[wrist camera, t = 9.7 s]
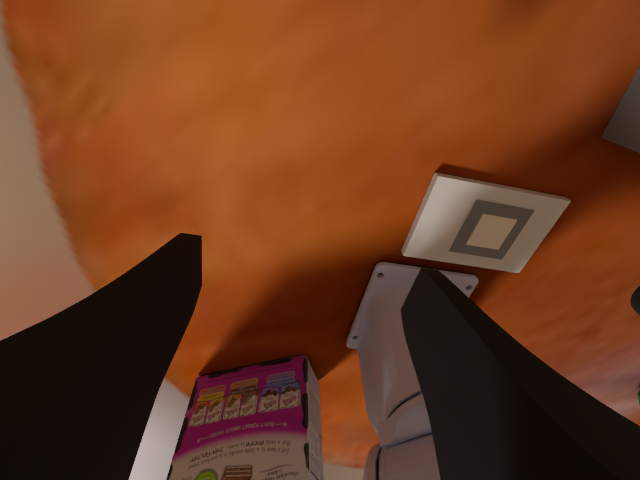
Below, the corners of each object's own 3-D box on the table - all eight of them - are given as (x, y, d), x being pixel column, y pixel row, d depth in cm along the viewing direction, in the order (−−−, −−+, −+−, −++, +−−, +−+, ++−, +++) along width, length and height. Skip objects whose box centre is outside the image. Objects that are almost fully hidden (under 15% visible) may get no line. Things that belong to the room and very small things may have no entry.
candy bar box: (219, 401, 33) (157, 666, 19) (195, 374, 30) (104, 661, 17) (322, 381, 31) (333, 652, 18) (308, 352, 29) (308, 646, 15)
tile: (514, 267, 24) (520, 275, 23) (400, 250, 22) (403, 257, 22) (564, 196, 20) (573, 202, 20) (434, 172, 19) (439, 177, 18)
